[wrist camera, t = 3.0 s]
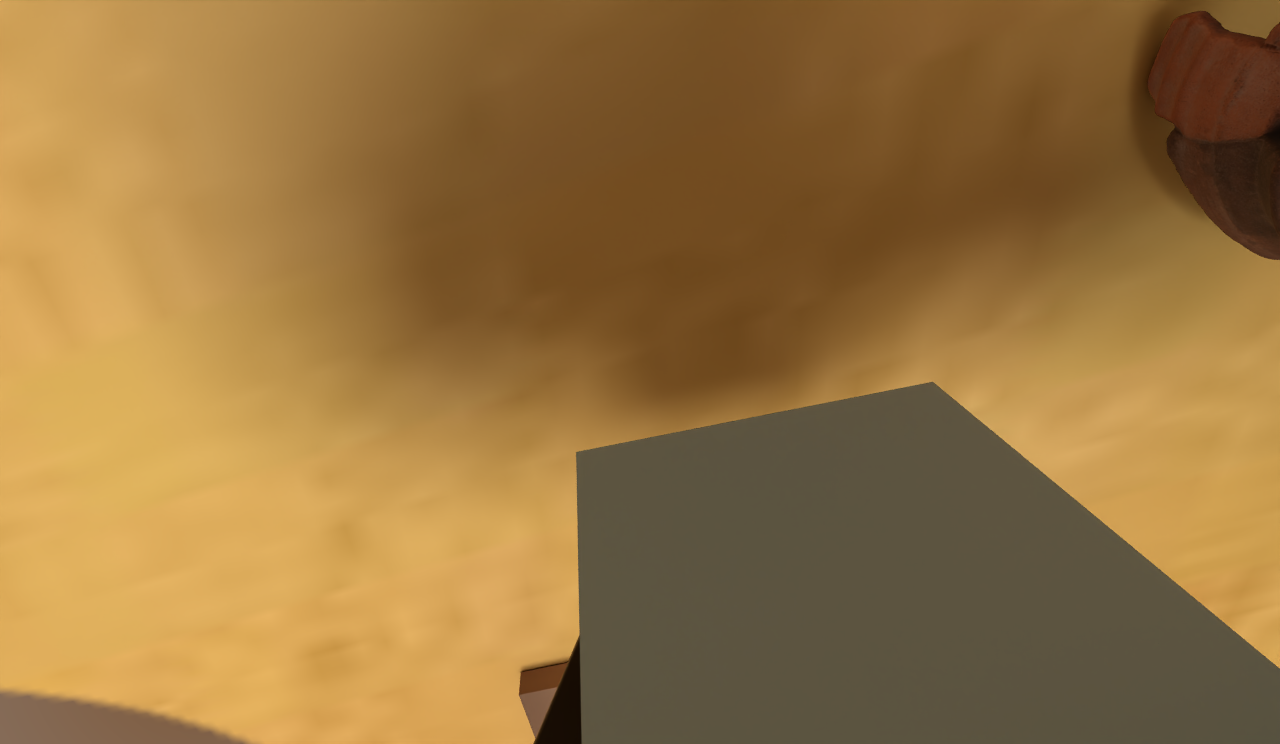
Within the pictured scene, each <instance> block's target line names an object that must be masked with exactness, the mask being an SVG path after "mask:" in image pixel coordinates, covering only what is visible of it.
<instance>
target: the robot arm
mask: <svg viewBox="0 0 1280 744" xmlns="http://www.w3.org/2000/svg"><path fill="white" fill-rule="evenodd" d="M533 744H582V732H581V678H580V635H579V637H578V640H577V642H576V644H575V647H574V649H573V652H572V654H571V656H570V659H569V661H568V663H567V666H566V668H565V670H564V673H563V675H562V677H561V680H560V682H559V685H558V687H557V689H556V692H555V694H554V696H553V699H552V701H551V703H550V706H549V708H548V710H547V713H546V715H545V718H544V720H543V722H542V725H541V727H540V729H539V732H538V734H537V736H536V739H535V741H534V743H533Z"/></svg>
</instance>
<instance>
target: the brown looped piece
mask: <svg viewBox="0 0 1280 744" xmlns="http://www.w3.org/2000/svg"><path fill="white" fill-rule="evenodd" d="M1147 86H1148V90H1149V93H1150V95H1151V96H1152V97H1153V99H1154V100H1155V103H1156V105H1155V113H1156V114H1157V115H1158V116H1160V117H1162V118H1164V119H1166V120H1168V121H1170V122H1172V123H1173V124H1174V126H1175V129H1174V130H1173V131H1172V132H1171V133H1170V135H1169V137H1168V139H1167V153H1168V155H1169V157H1170V159H1171V160H1172V162H1173V164H1174V165H1175V167H1176V170H1177V172H1178V173H1179V175H1180V177H1181V179H1182V181H1183V183H1184V184H1185V186H1186V187H1187V188H1188V189H1189V191H1190V193H1191V194H1192V195H1193V197H1194V199H1195V200H1196V201H1197V203H1198V205H1199V206H1200V207H1201V208H1202V209H1203V210H1204V212H1205V213H1206V215H1207V216H1208V217H1209V218H1210V219H1211V220H1212V221H1213V222H1214V223H1215V224H1216V225H1217V226H1218V227H1219V228H1220V229H1221V230H1222V231H1223V232H1224V233H1225V234H1226V235H1228V236H1229V237H1231V238H1232V239H1233V240H1235V241H1236V242H1238V243H1240V244H1241V245H1243V246H1244V247H1245V248H1247V249H1249V250H1250V251H1252V252H1254V253H1256V254H1257V255H1259V256H1262V257H1264V258H1268V259H1274V260H1280V23H1279V24H1277V25H1276V26H1275V27H1274V28H1273V29H1272V31H1271V32H1270V34H1269V35H1268V37H1267V39H1264V38H1261V37H1255V36H1249V35H1246V34H1241V33H1235V32H1230V31H1229V30H1226V29H1224V28H1223V27H1222V25H1221V23H1219V22H1218V21H1217V20H1216V19H1214V18H1213V17H1212V16H1211V15H1210V14H1209V13H1208V12H1206V11H1197V12H1192V13H1188V14H1185V15H1182V16H1180V17H1178V18H1176V19H1175V20H1174V21H1173V23H1172V24H1171V26H1170V28H1169V30H1168V32H1167V34H1166V36H1165V37H1164V39H1163V42H1162V44H1161V46H1160V49H1159V51H1158V54H1157V56H1156V59H1155V62H1154V64H1153V67H1152V69H1151V72H1150V74H1149V78H1148V82H1147Z"/></svg>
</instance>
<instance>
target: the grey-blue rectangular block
mask: <svg viewBox="0 0 1280 744" xmlns="http://www.w3.org/2000/svg"><path fill="white" fill-rule="evenodd" d="M576 463H577V517H578V571H579V625H580V678H581V732H582V744H1280V669H1279V668H1278V667H1277V666H1276V665H1275V664H1273V663H1272V662H1271V661H1270V660H1268V659H1267V658H1266V657H1265V656H1264V655H1262V654H1261V653H1260V652H1259V651H1258V650H1256V649H1255V648H1254V647H1253V646H1252V645H1250V644H1249V643H1248V642H1247V641H1245V640H1244V639H1243V638H1242V637H1241V636H1239V635H1238V634H1237V633H1236V632H1235V631H1233V630H1232V629H1231V628H1230V627H1229V626H1227V625H1226V624H1225V623H1224V622H1223V621H1221V620H1220V619H1219V618H1218V617H1216V616H1215V615H1214V614H1213V613H1212V612H1210V611H1209V610H1208V609H1207V608H1206V607H1204V606H1203V605H1202V604H1201V603H1200V602H1198V601H1197V600H1196V599H1195V598H1194V597H1192V596H1191V595H1190V594H1189V593H1187V592H1186V591H1185V590H1184V589H1183V588H1181V587H1180V586H1179V585H1178V584H1177V583H1175V582H1174V581H1173V580H1172V579H1171V578H1169V577H1168V576H1167V575H1166V574H1164V573H1163V572H1162V571H1161V570H1160V569H1158V568H1157V567H1156V566H1155V565H1154V564H1152V563H1151V562H1150V561H1149V560H1148V559H1146V558H1145V557H1144V556H1143V555H1142V554H1140V553H1139V552H1138V551H1137V550H1135V549H1134V548H1133V547H1132V546H1131V545H1129V544H1128V543H1127V542H1126V541H1125V540H1123V539H1122V538H1121V537H1120V536H1119V535H1117V534H1116V533H1115V532H1114V531H1113V530H1111V529H1110V528H1109V527H1108V526H1106V525H1105V524H1104V523H1103V522H1102V521H1100V520H1099V519H1098V518H1097V517H1096V516H1094V515H1093V514H1092V513H1091V512H1090V511H1088V510H1087V509H1086V508H1085V507H1083V506H1082V505H1081V504H1080V503H1079V502H1077V501H1076V500H1075V499H1074V498H1073V497H1071V496H1070V495H1069V494H1068V493H1067V492H1065V491H1064V490H1063V489H1062V488H1061V487H1059V486H1058V485H1057V484H1056V483H1054V482H1053V481H1052V480H1051V479H1050V478H1048V477H1047V476H1046V475H1045V474H1044V473H1042V472H1041V471H1040V470H1039V469H1038V468H1036V467H1035V466H1034V465H1033V464H1031V463H1030V462H1029V461H1028V460H1027V459H1025V458H1024V457H1023V456H1022V455H1021V454H1019V453H1018V452H1017V451H1016V450H1015V449H1013V448H1012V447H1011V446H1010V445H1009V444H1007V443H1006V442H1005V441H1004V440H1002V439H1001V438H1000V437H999V436H998V435H996V434H995V433H994V432H993V431H992V430H990V429H989V428H988V427H987V426H986V425H984V424H983V423H982V422H981V421H980V420H978V419H977V418H976V417H975V416H973V415H972V414H971V413H970V412H969V411H967V410H966V409H965V408H964V407H963V406H961V405H960V404H959V403H958V402H957V401H955V400H954V399H953V398H952V397H950V396H949V395H948V394H947V393H946V392H944V391H943V390H942V389H941V388H940V387H938V386H937V385H936V384H935V383H934V382H930V383H925V384H920V385H915V386H910V387H904V388H899V389H894V390H889V391H884V392H879V393H874V394H869V395H864V396H859V397H854V398H849V399H844V400H838V401H833V402H828V403H823V404H818V405H813V406H808V407H803V408H798V409H793V410H788V411H783V412H777V413H772V414H767V415H762V416H757V417H752V418H747V419H742V420H737V421H732V422H727V423H722V424H717V425H711V426H706V427H701V428H696V429H691V430H686V431H681V432H676V433H671V434H666V435H661V436H656V437H650V438H645V439H640V440H635V441H630V442H625V443H620V444H615V445H610V446H605V447H600V448H595V449H589V450H584V451H579V452H576Z"/></svg>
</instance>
